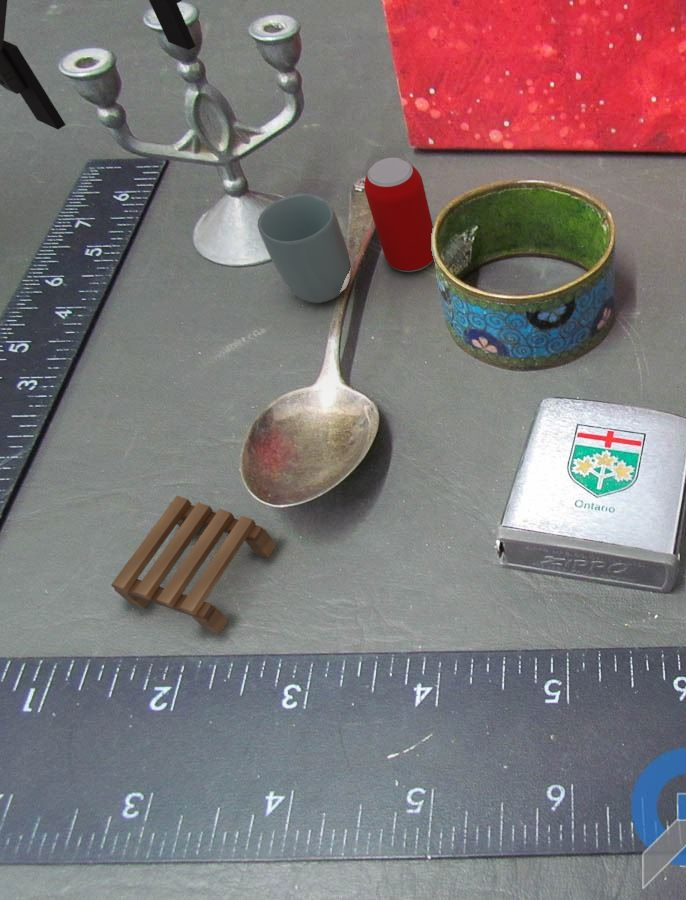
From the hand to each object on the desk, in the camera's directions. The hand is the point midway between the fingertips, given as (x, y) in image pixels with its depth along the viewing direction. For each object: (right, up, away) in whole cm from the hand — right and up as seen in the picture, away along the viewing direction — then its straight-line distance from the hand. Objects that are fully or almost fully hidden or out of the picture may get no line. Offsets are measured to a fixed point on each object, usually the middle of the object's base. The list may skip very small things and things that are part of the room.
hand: (120, 82), depth 70 cm
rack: (+6, -42, +3) cm, 43 cm away
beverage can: (+19, -9, +26) cm, 33 cm away
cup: (+9, -13, +24) cm, 29 cm away
